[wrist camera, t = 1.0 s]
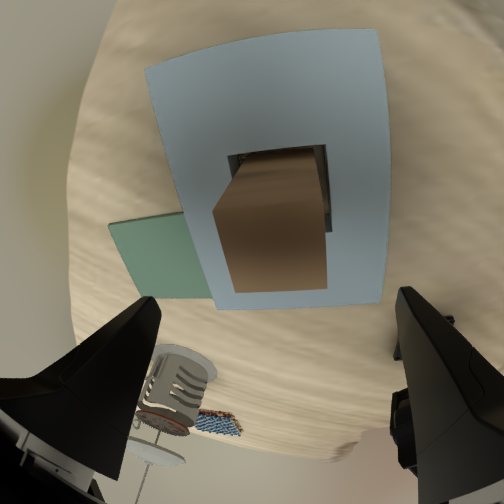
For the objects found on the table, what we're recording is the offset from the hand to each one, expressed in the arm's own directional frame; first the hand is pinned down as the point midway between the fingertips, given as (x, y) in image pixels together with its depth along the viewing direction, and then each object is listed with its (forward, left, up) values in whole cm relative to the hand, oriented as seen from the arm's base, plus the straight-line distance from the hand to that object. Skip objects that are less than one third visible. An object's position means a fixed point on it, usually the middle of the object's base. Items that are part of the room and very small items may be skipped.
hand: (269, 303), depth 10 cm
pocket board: (0, 0, -12) cm, 12 cm away
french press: (-23, +17, -12) cm, 31 cm away
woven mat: (-44, +19, -13) cm, 50 cm away
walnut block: (0, 0, -12) cm, 12 cm away
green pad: (-6, +12, -12) cm, 18 cm away
